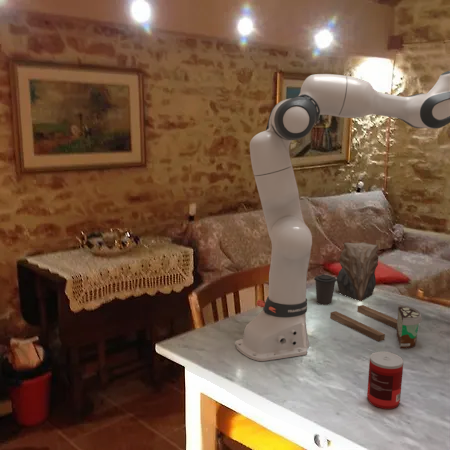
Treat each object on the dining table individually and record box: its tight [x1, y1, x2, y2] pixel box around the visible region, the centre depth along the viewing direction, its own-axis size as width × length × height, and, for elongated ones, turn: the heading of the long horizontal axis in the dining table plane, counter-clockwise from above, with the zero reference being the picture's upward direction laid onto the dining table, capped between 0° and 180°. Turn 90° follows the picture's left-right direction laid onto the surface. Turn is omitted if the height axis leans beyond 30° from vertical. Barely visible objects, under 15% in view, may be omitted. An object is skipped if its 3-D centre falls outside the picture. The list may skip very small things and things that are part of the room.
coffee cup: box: [313, 274, 337, 306], centre depth 192 cm, size 8×8×10 cm
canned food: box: [366, 351, 404, 410], centre depth 124 cm, size 8×8×11 cm
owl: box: [336, 241, 379, 302], centre depth 200 cm, size 13×13×20 cm
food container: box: [396, 304, 423, 350], centre depth 157 cm, size 12×6×10 cm, turn 168°
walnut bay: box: [329, 304, 398, 343], centre depth 172 cm, size 15×22×2 cm
